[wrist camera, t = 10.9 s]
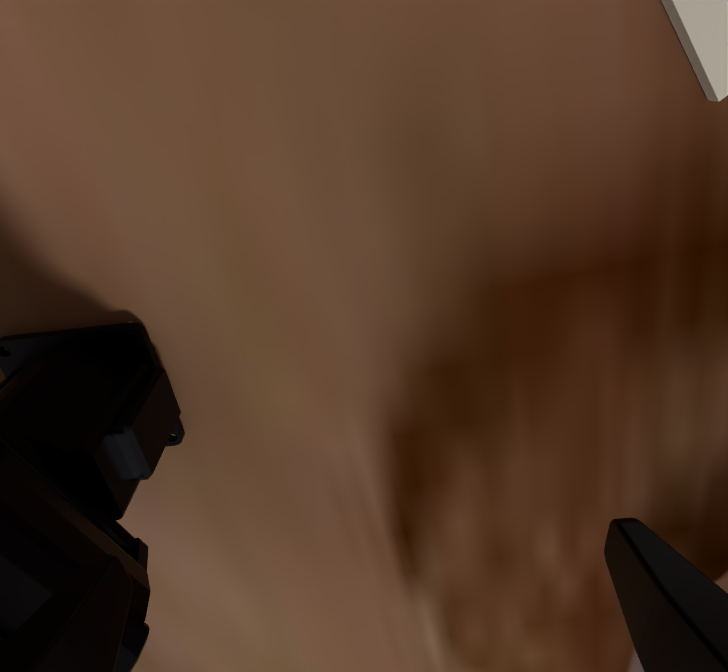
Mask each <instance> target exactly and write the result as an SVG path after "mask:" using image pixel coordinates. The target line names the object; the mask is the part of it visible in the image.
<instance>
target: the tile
mask: <svg viewBox="0 0 728 672" xmlns="http://www.w3.org/2000/svg"><path fill="white" fill-rule="evenodd" d="M661 1H662V3H663V5H664V8H665V10H666V12H667V14H668V16H669V18H670V20H671V22H672V25H673V27H674V29H675V31H676V33H677V35H678V37H679V40H680V42H681V44H682V46H683V48H684V50H685V52H686V54H687V57H688V59H689V61H690V63H691V65H692V67H693V69H694V72H695V74H696V76H697V78H698V80H699V82H700V84H701V86H702V89H703V91H704V93H705V95H706V97H707V99H708V100H711V101H718V102H719V101H720V100H722V99H723V98H724V97H726V96H727V95H728V0H661Z"/></svg>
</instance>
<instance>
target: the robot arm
mask: <svg viewBox="0 0 728 672" xmlns="http://www.w3.org/2000/svg"><path fill="white" fill-rule="evenodd" d="M129 332H131V333H134V334H136V335H137V336H138V338H134V337H132V336H131V335H130V334H129ZM4 347H6V348H8V349H9V351H10V352H9V351H7V350H5V348H4ZM0 367H1V369H2V371H3V372H4V374H5V376H6V379H5V380H3V381H2V382H1V383H0V672H131V671H132V669H133V667H134V666H135V664H136V663H137V661H138V659H139V657H140V654H141V652H142V650H143V648H144V645H145V643H146V641H147V638H148V634H149V626H148V625H147V624H146V623H145V622H144V621H145V618H146V613H147V607H148V602H149V597H150V586H149V580H148V574H147V560H148V546H147V545H146V544H145V543H144V542H143V541H142V540H140V539H139V538H134V537H133V536H132V535H131V534H130V533H129V532H127V531H126V530H125V529H124V528H123V527H122V526H121V525H120V524H119V523H118V522H117V521H116V520H119V519H121V518H122V517H123V515H124V513H125V511H126V509H127V507H128V505H129V503H130V501H131V499H132V496H133V494H134V492H135V490H136V488H137V486H138V484H139V482H140V480H146V479H149V478H150V476H151V475H152V474H153V472H154V470H155V468H156V466H157V463H158V461H159V459H160V457H161V455H162V453H163V450H164V448H165V446H175V445H178V444H180V443H181V442H182V439H183V437H184V435H185V432H184V429H183V426H182V423H181V421H180V418H179V416H180V413H181V411H180V408H179V406H178V403H177V400H176V398H175V395H174V392H173V390H172V387H171V384H170V382H169V379H168V376H167V374H166V371H165V369H164V368H162V367H161V366H160V365H159V362H158V360H157V357H156V354H155V352H154V349H153V346H152V344H151V341H150V338H149V336H148V333H147V331H146V329H145V328H144V327H143V326H142V325H140V324H137V323H124V324H115V325H106V326H97V327H88V328H79V329H70V330H61V331H51V332H42V333H33V334H24V335H15V336H6V337H2V338H0ZM171 434H174V435H176V436H172V435H171ZM604 554H605V560H606V563H607V566H608V569H609V572H610V575H611V578H612V581H613V584H614V587H615V591H616V594H617V597H618V600H619V603H620V606H621V609H622V612H623V615H624V618H625V621H626V624H627V627H628V630H629V633H630V636H631V639H632V642H633V644H634V647H635V650H636V653H637V655H638V657H639V660H640V662H641V664H642V667H643V669H644V672H728V594H727V593H726V592H725V591H724V590H723V589H721V588H720V587H719V586H718V585H717V584H715V583H714V582H713V581H712V580H711V579H709V578H708V577H707V576H706V575H705V574H703V573H702V572H701V571H700V570H699V569H697V568H696V567H695V566H694V565H693V564H691V563H690V562H689V561H688V560H687V559H685V558H684V557H683V556H682V555H681V554H679V553H678V552H677V551H676V550H675V549H673V548H672V547H671V546H670V545H669V544H667V543H666V542H665V541H664V540H663V539H661V538H660V537H659V536H658V535H657V534H655V533H654V532H653V531H652V530H651V529H649V528H648V527H647V526H646V525H645V524H643V523H642V522H641V521H639V520H638V519H635V518H620V519H613V520H612V521H611V522H610V525H609V529H608V534H607V538H606V543H605V548H604Z"/></svg>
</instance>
